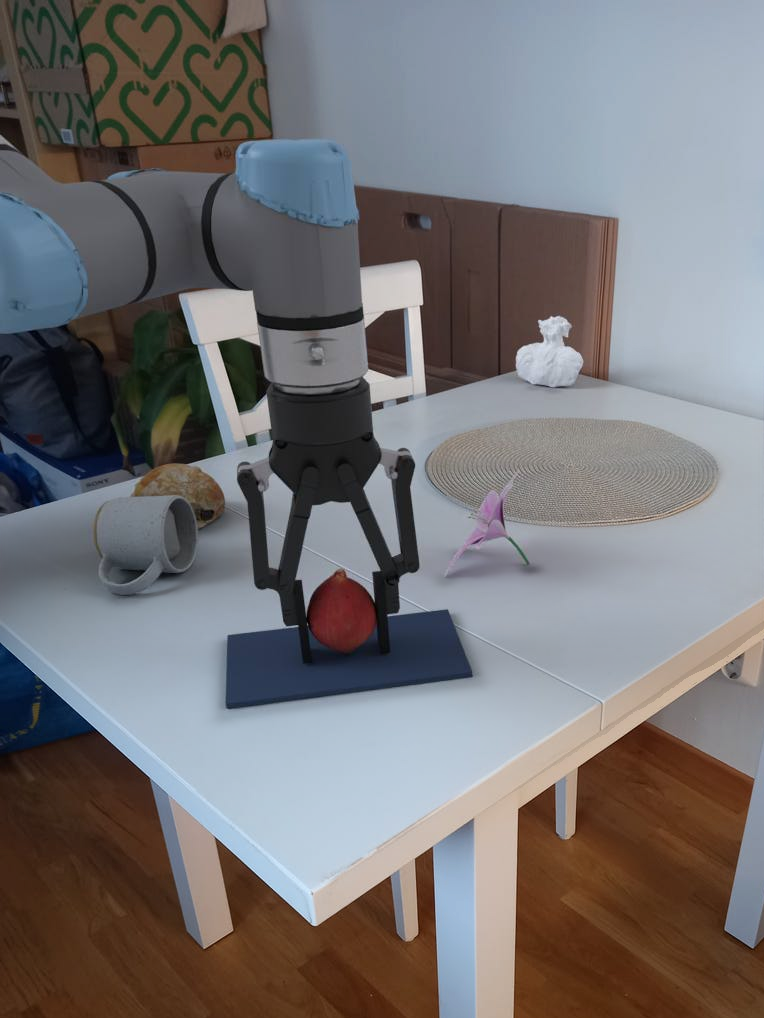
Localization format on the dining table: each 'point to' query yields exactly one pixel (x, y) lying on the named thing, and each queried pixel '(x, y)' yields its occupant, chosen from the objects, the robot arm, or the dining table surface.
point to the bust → (550, 357)
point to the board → (342, 661)
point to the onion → (341, 613)
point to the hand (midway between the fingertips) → (345, 649)
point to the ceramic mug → (144, 538)
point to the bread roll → (185, 489)
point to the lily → (489, 523)
